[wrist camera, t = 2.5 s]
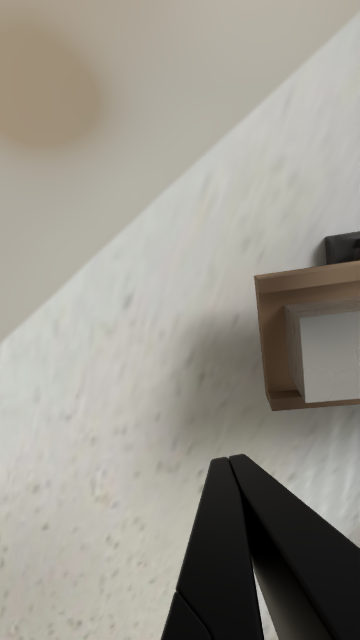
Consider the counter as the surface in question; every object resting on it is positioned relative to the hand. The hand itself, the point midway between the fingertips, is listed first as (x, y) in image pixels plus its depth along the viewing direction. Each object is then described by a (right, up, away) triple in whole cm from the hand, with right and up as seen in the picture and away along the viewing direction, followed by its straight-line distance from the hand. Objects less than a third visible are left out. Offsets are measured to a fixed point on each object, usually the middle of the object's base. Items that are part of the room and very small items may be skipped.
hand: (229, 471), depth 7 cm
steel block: (+7, +3, +8) cm, 11 cm away
